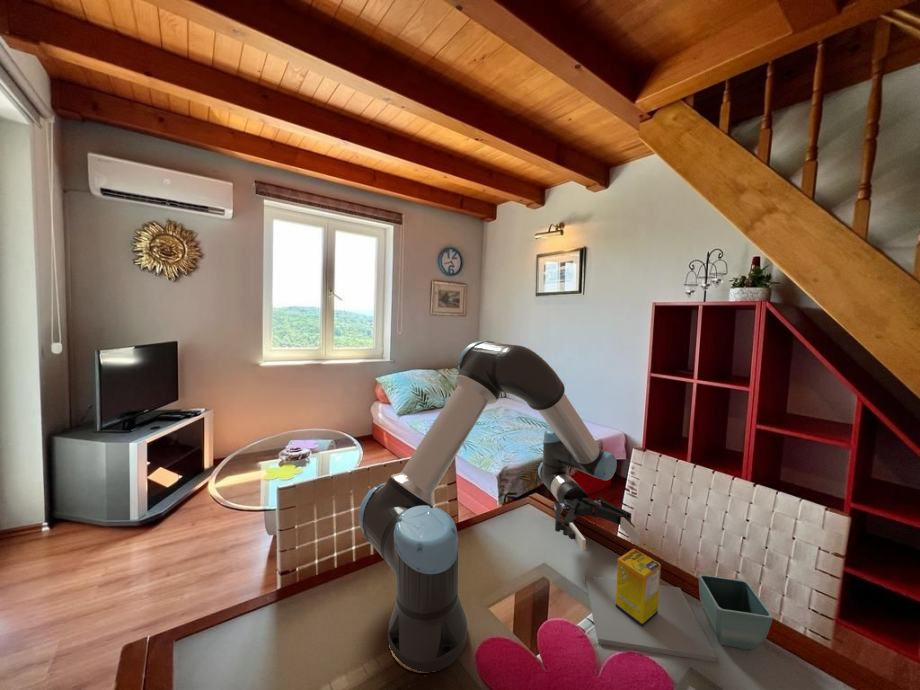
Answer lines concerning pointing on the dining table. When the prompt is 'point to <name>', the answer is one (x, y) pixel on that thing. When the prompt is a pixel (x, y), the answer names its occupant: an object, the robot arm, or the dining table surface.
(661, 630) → the board
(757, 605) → the flower pot
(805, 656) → the dining table surface
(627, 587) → the supplement box
